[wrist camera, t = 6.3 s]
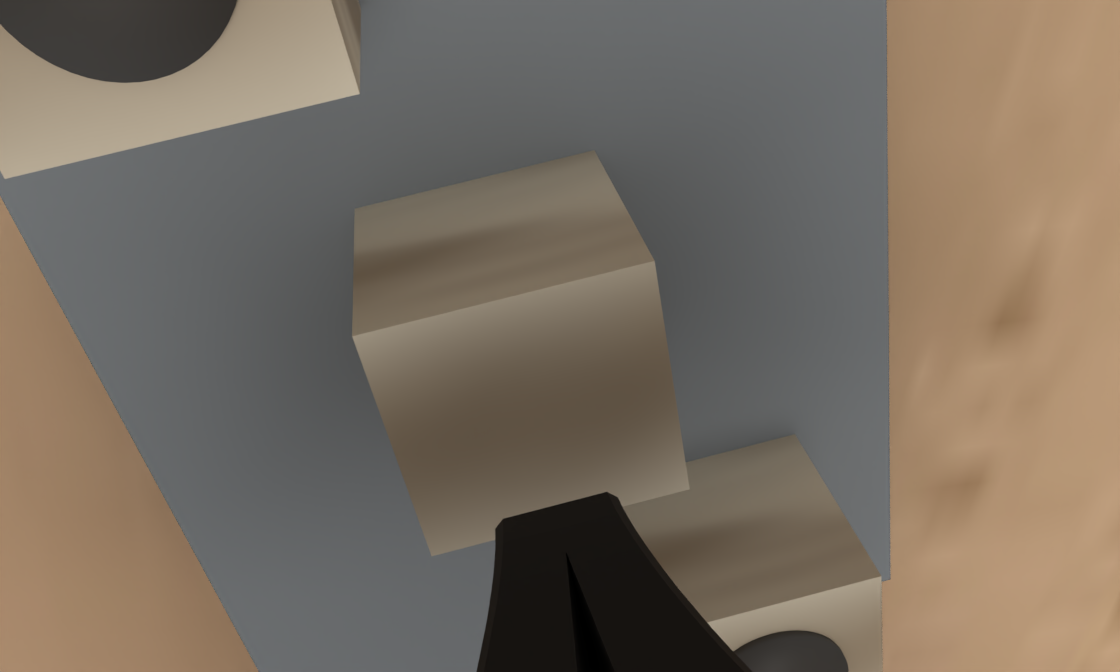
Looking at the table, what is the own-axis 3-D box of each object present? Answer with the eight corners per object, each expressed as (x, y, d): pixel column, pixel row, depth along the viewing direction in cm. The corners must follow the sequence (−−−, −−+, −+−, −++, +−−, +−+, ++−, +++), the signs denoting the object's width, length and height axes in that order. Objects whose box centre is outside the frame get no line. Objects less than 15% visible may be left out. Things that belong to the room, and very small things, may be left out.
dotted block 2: (804, 571, 22) (886, 728, 19) (632, 616, 22) (682, 783, 19) (794, 433, 20) (885, 582, 17) (603, 483, 20) (654, 644, 16)
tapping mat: (875, 555, 24) (890, 579, 23) (296, 708, 23) (294, 738, 22) (855, -539, 13) (882, -553, 12) (-236, -302, 12) (-271, -303, 12)
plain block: (629, 350, 18) (689, 488, 15) (419, 403, 18) (431, 556, 15) (594, 150, 16) (654, 260, 13) (354, 209, 16) (352, 336, 13)
